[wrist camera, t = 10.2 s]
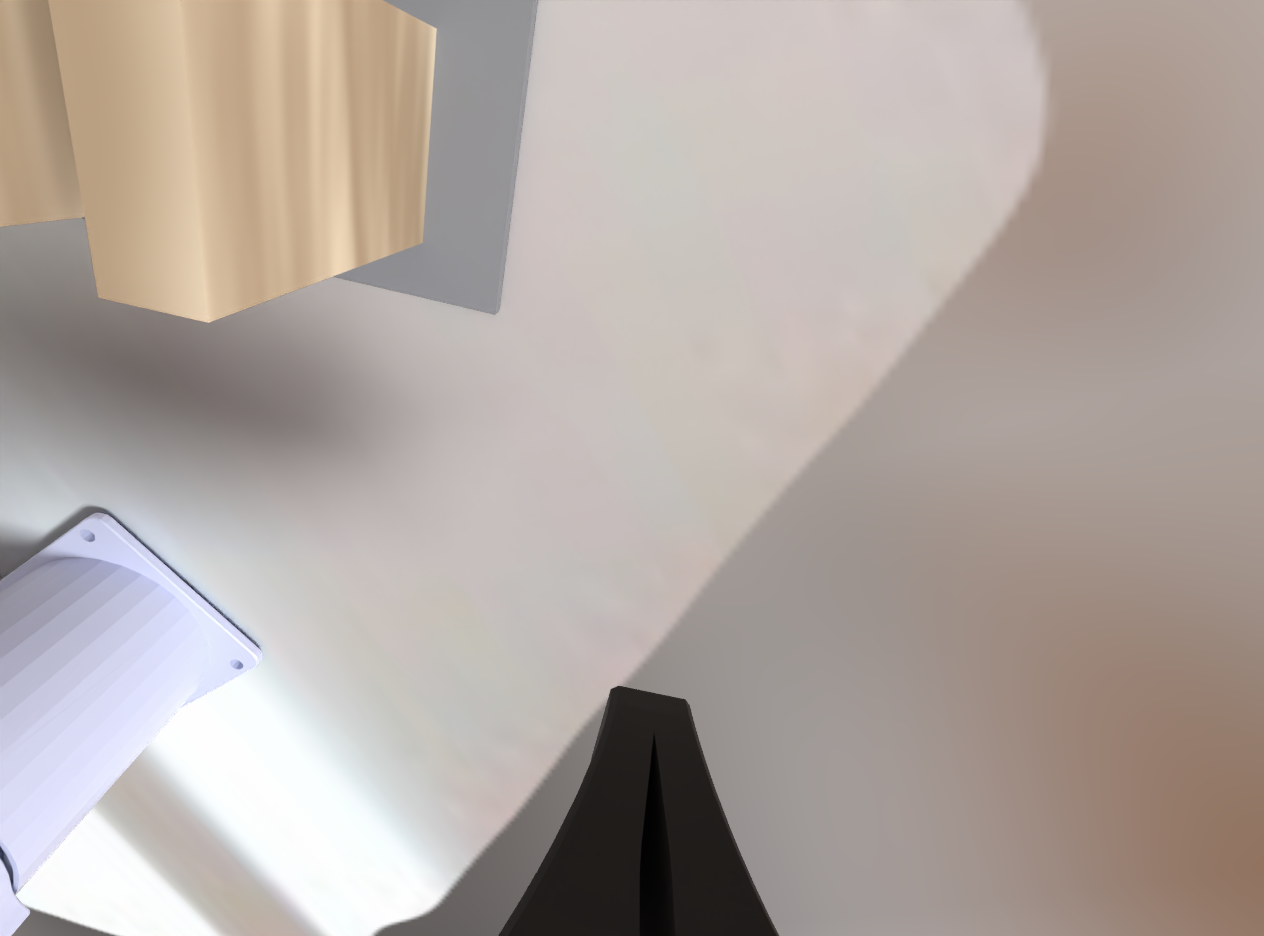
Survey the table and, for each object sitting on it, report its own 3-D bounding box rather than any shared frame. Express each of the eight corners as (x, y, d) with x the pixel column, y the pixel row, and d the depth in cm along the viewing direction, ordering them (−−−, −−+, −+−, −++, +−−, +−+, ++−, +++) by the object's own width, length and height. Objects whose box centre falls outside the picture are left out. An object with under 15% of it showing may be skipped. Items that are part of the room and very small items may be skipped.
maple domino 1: (226, -26, 15) (-300, -234, 7) (240, 199, 17) (-143, 242, 9) (158, -43, 15) (-457, -275, 7) (180, 185, 17) (-259, 216, 9)
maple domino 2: (436, 28, 15) (170, -110, 7) (422, 242, 17) (208, 322, 9) (370, 11, 15) (23, -150, 7) (365, 229, 17) (98, 297, 9)
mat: (540, -19, 15) (536, -24, 14) (499, 310, 19) (495, 314, 18) (-638, -328, 14) (-682, -344, 13) (-435, 91, 17) (-465, 90, 17)
